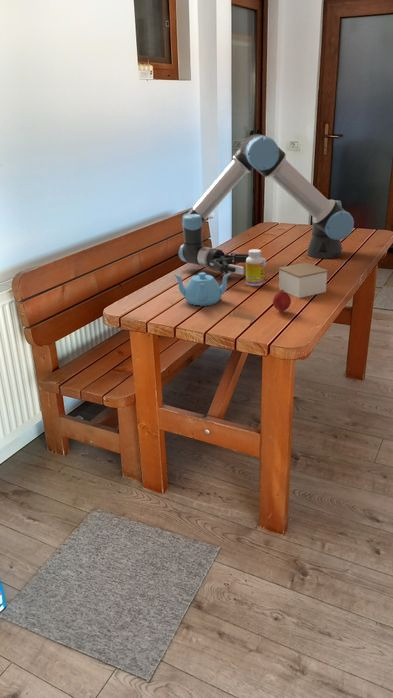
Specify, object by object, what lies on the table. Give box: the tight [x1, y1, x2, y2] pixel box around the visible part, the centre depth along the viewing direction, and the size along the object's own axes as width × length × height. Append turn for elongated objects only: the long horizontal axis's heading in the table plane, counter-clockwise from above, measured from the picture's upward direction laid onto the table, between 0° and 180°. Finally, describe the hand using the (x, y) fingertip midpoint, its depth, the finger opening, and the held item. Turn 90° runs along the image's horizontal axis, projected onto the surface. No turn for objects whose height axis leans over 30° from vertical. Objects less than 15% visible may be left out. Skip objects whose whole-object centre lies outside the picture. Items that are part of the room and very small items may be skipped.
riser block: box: [278, 262, 329, 299], centre depth 207 cm, size 12×12×8 cm
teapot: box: [173, 271, 232, 307], centre depth 200 cm, size 15×15×10 cm
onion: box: [272, 289, 292, 313], centre depth 187 cm, size 6×6×8 cm
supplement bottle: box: [245, 248, 265, 287], centre depth 215 cm, size 7×7×13 cm
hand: (254, 266), depth 214 cm, fingers open, 13 cm apart
